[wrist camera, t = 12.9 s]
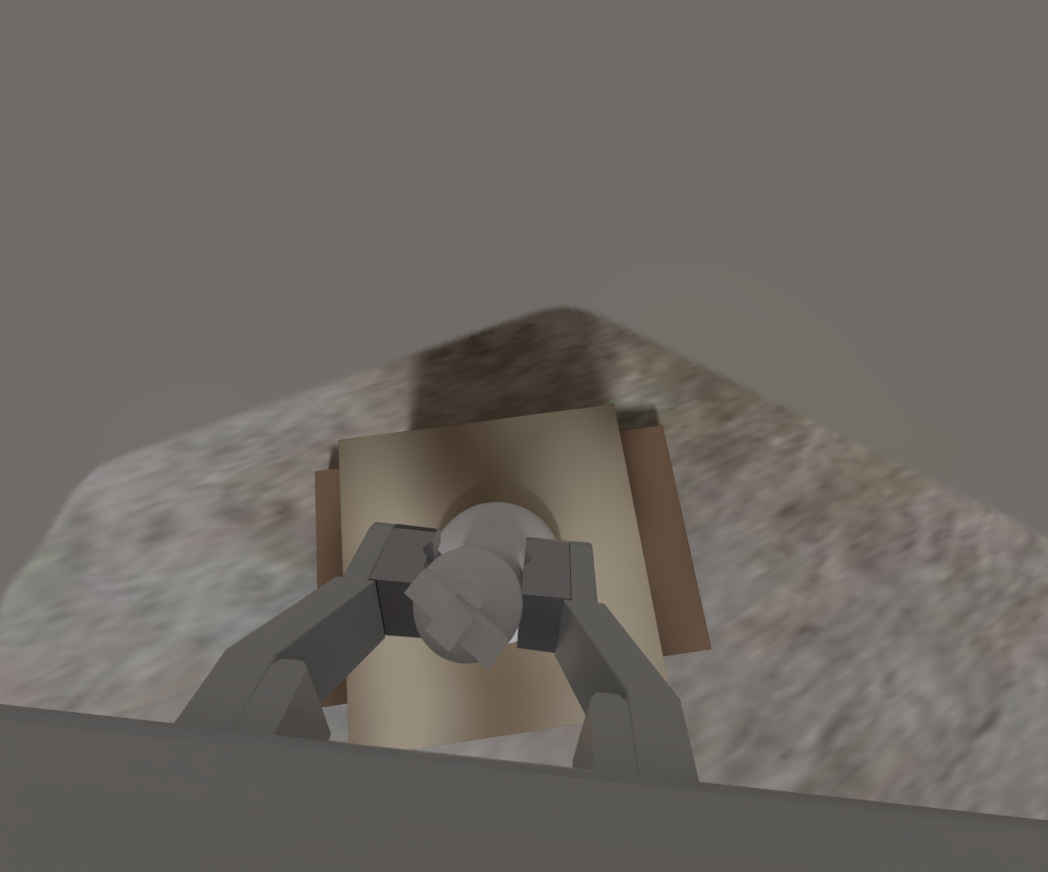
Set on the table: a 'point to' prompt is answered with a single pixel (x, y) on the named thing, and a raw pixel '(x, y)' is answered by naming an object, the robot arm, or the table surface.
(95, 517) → the table surface
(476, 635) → the chess piece
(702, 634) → the walnut base
